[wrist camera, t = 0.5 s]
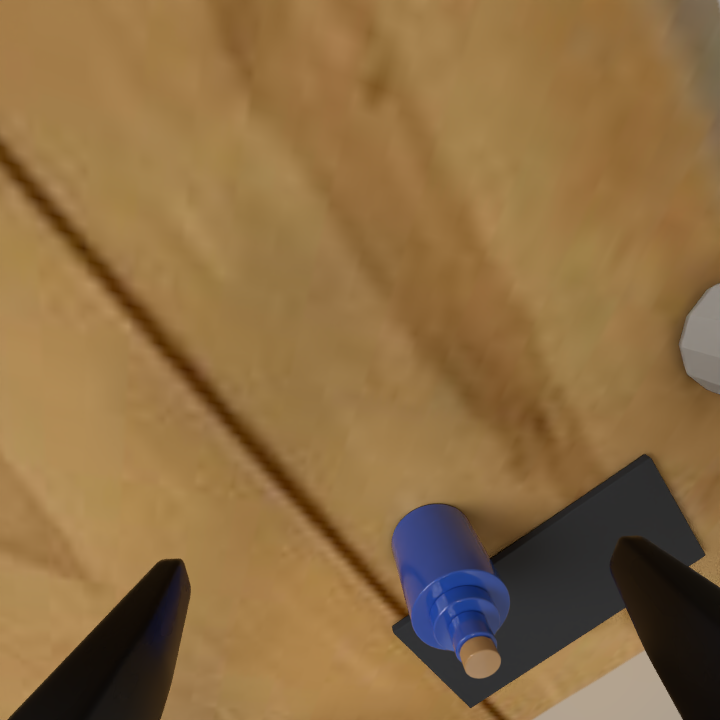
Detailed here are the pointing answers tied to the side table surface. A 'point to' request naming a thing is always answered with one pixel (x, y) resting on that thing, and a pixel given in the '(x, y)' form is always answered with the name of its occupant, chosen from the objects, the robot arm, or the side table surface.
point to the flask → (451, 586)
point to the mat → (566, 576)
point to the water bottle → (703, 341)
